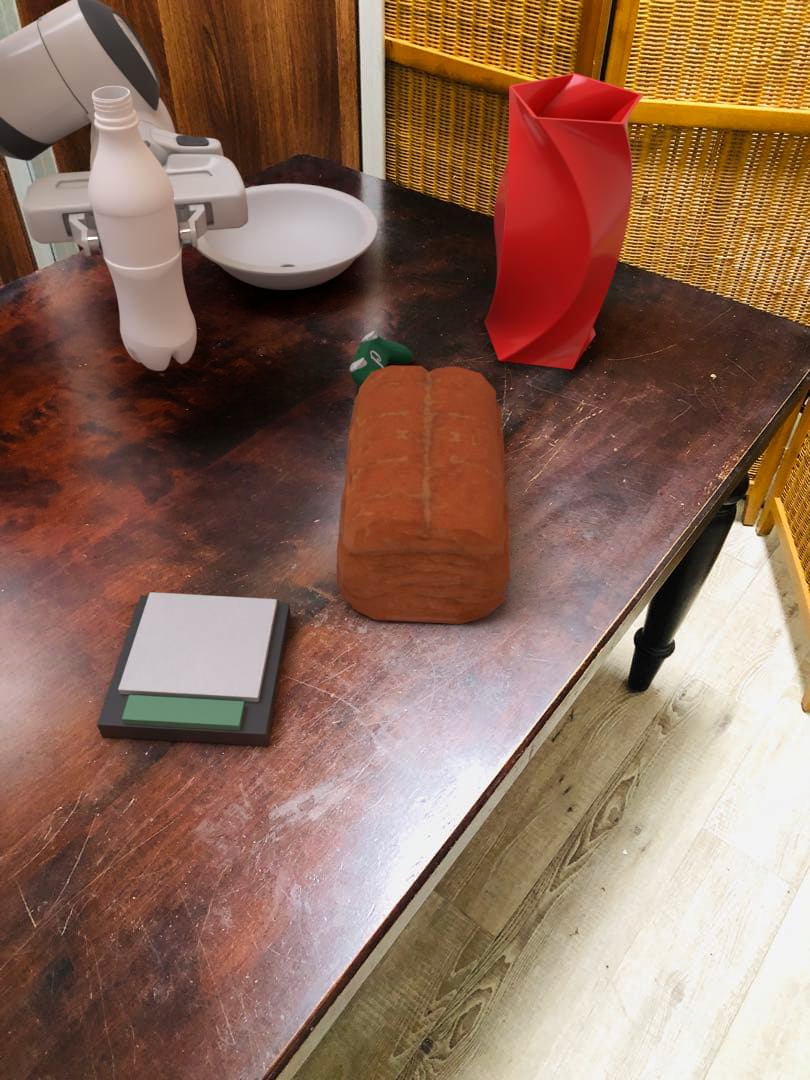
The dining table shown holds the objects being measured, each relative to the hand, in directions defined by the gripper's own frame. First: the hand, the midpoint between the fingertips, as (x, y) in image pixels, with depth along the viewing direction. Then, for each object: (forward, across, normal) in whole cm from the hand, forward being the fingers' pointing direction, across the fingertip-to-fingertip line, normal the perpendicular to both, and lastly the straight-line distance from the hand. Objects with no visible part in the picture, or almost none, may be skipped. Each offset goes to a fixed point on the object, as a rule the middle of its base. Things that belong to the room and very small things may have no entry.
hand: (141, 244), depth 79 cm
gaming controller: (-5, +23, +22) cm, 32 cm away
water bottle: (-1, 0, +13) cm, 13 cm away
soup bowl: (-31, +16, +22) cm, 41 cm away
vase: (-10, +45, +22) cm, 51 cm away
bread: (+18, +22, +22) cm, 36 cm away
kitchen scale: (+32, 0, +21) cm, 38 cm away
